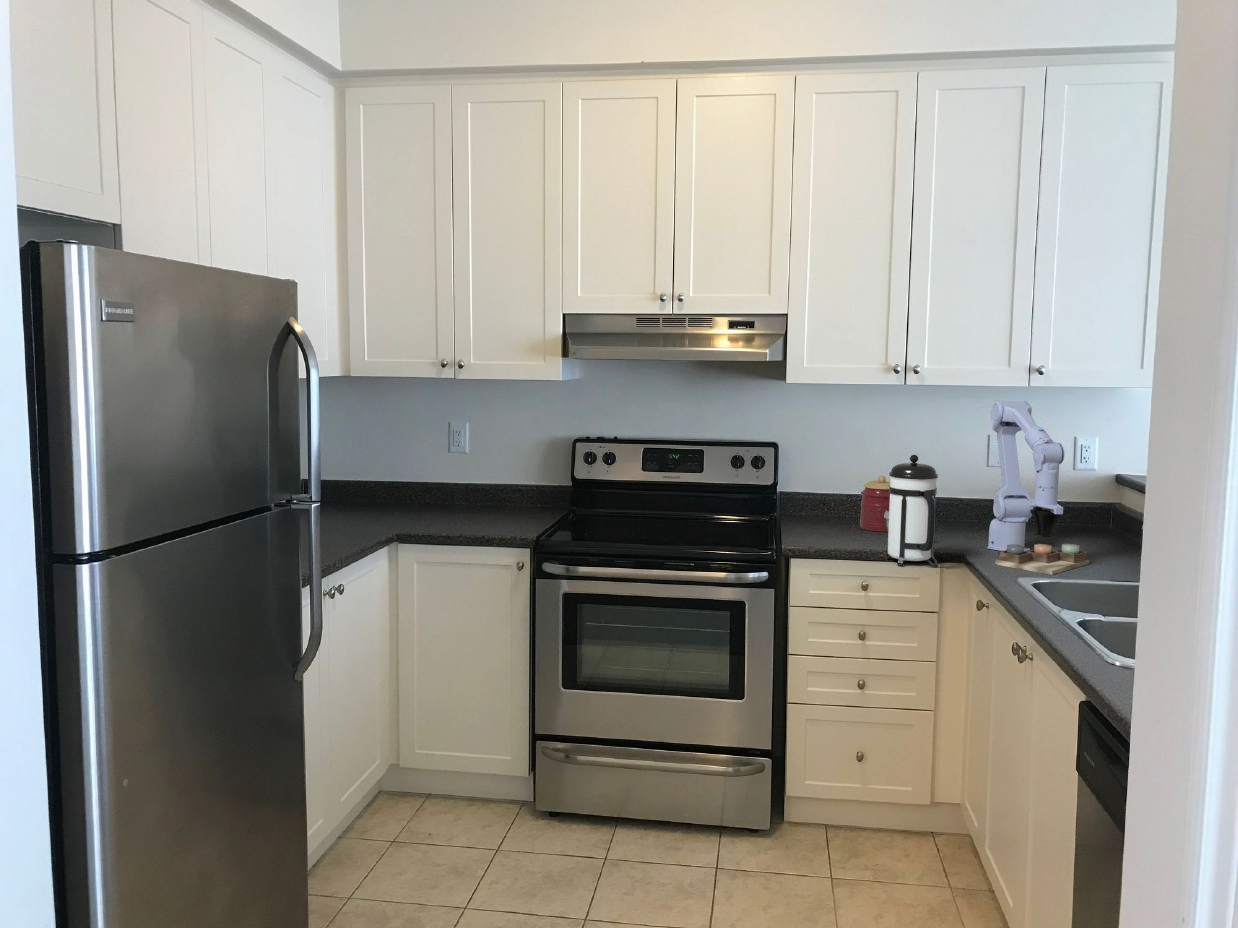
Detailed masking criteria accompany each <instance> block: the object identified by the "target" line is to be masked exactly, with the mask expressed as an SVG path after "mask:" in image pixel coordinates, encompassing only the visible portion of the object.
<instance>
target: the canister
mask: <svg viewBox="0 0 1238 928" xmlns="http://www.w3.org/2000/svg"><path fill="white" fill-rule="evenodd" d="M889 486H890V480H889V481H888V480H887V479H886V476H884V475H879V476H877V480H870V481H868V482H867V483H865V484H864V485H863V487H864V490H862V491H861V492H860V494H861V495H862V497H861V501H860V519H859V524H860V525H859V526H860V528H861V529H862V530H865V531H873V532H882V533H883V532H887V522H886V518H884V514H885V512H886V511H888V512H889V504H890V493H889Z"/></svg>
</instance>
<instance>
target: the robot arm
mask: <svg viewBox="0 0 1238 928" xmlns="http://www.w3.org/2000/svg"><path fill="white" fill-rule="evenodd" d="M1032 413H1033V412H1032V406H1031V404H1030V403H1029V401H1027V400H1022V401H1020V400H1019V401H1015V400H1014V401H1009V400H1008V401H1007V400H1005V401H1003V400H1001V401H1000V400H996V401H994V403H993V404H992V406H991V409H990V422H991V428H992V431H994V432H995V433H996V437H997V438H996V439H997V448H998V457H999V465H1000V467H999V468H1000V476H1001V485H1002V487H1001V489H1000V490H998V491H996V493H995V494H994V495H993V507H992V509H993V515H994V516H995V518H993V519H992V520H991V522H990V524H989V527H988V529H989V530H988V546H986V547H987V548H986V549H988V550H993V551H998V552H1000V551H1004V550H1007V545H1009V544H1015V545H1022V546H1024V552H1026V551H1030V550H1031V548H1029V547H1025V540H1026V536H1025V535H1026V523H1027V522H1029V519H1031V517H1032V518H1033V520H1034V524H1035V529H1036V530H1035V531H1036V533H1037V536H1041V537H1042V538H1051V535H1052V532H1053V530H1054V527H1055V524H1056V522H1057V520H1058V519H1059V517H1060V516H1061V515H1063V514H1064V506H1061V505H1060V504H1059V503H1058V492H1059V477H1060V465H1061V464H1062V463H1063V462H1064V460H1065V453H1066V452H1065V447H1064V445H1063V444H1062V443H1061V442H1057V441H1054V440H1053V439H1052V438H1051V437H1050V435H1049V434H1048V432H1047V431H1046V430H1045V428H1044V427H1043V426H1038V425H1037V424H1036V422H1035V420H1034V418H1033V417H1032ZM1020 431H1023V432H1024V440H1025V442H1026V443H1027V445H1028V446H1029V448H1030V449H1031V451H1032V459H1033V463H1034V465H1033V467H1034V470H1035V481H1034V482H1035V483H1034V484H1035V487H1034V488H1035V489H1034V498H1031V494H1030V491H1028V490H1026V489H1025V488H1023V486H1022V484H1021V476H1020V467H1019V465H1020V464H1019V459H1018V458H1019V457H1018V449H1017V441H1016V440H1017V438H1016V434H1017V433H1018V432H1020Z"/></svg>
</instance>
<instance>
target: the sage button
mask: <svg viewBox="0 0 1238 928" xmlns="http://www.w3.org/2000/svg"><path fill="white" fill-rule="evenodd" d="M1060 549H1061V552H1063V553H1069V554H1079V551H1080V545H1079V544H1074V543H1062V544H1061V548H1060Z"/></svg>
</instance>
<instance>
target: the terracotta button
mask: <svg viewBox="0 0 1238 928" xmlns="http://www.w3.org/2000/svg"><path fill="white" fill-rule="evenodd" d="M1052 548H1053V546H1052V545H1050V544H1044V543H1043V544H1042V543H1037V544H1034V547H1033V550H1034V553H1039V554H1045V555H1049V554H1051V552H1052V551H1053V550H1052Z"/></svg>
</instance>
